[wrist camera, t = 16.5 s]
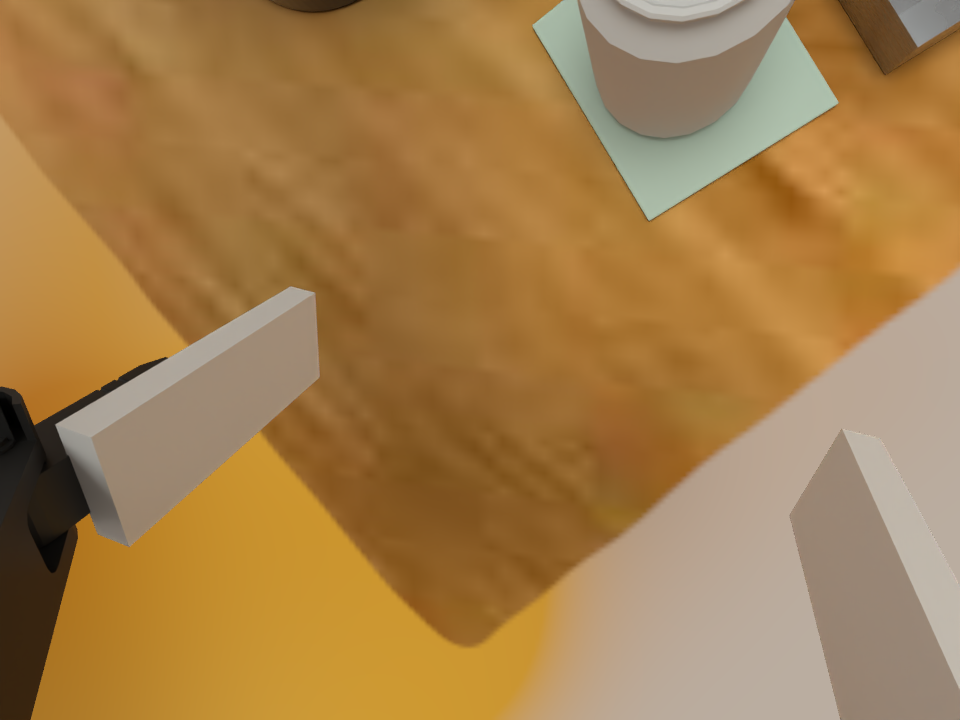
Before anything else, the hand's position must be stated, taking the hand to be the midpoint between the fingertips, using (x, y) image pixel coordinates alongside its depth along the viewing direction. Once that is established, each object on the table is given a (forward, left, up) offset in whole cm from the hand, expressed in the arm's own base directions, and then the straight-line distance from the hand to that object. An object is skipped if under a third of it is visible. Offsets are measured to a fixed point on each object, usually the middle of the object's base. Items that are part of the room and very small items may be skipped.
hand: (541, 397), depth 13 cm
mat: (-10, +10, -17) cm, 22 cm away
